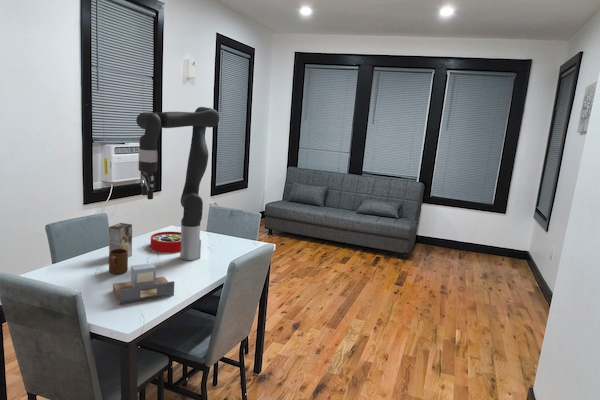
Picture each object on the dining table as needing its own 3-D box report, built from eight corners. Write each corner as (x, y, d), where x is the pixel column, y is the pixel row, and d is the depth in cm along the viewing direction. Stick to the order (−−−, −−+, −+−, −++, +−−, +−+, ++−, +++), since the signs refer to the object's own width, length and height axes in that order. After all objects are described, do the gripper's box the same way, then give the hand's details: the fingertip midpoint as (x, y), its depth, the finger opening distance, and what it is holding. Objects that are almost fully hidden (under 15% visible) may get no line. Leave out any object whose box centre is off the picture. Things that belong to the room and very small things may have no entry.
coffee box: (120, 253, 200) (121, 222, 197) (132, 255, 199) (132, 224, 196) (108, 259, 191) (108, 226, 188) (120, 261, 190) (120, 228, 187)
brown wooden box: (163, 283, 170) (163, 270, 169) (174, 295, 159) (174, 282, 158) (112, 291, 159) (112, 278, 158) (120, 305, 148) (120, 291, 147)
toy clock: (183, 230, 229) (194, 240, 213) (183, 240, 230) (194, 251, 214) (147, 232, 219) (155, 243, 202) (146, 243, 220) (155, 254, 203)
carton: (130, 284, 159) (131, 265, 158) (151, 281, 164) (151, 262, 162) (134, 289, 155) (134, 270, 153) (155, 286, 159) (155, 267, 158)
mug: (119, 279, 170) (120, 258, 168) (101, 278, 170) (101, 257, 168) (130, 269, 182) (130, 249, 180) (113, 267, 181) (113, 248, 180)
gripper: (134, 157, 175) (134, 194, 178) (143, 162, 164) (142, 201, 167) (152, 158, 179) (151, 193, 183) (162, 162, 168) (161, 200, 171)
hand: (147, 197), depth 175 cm, fingers open, 8 cm apart
